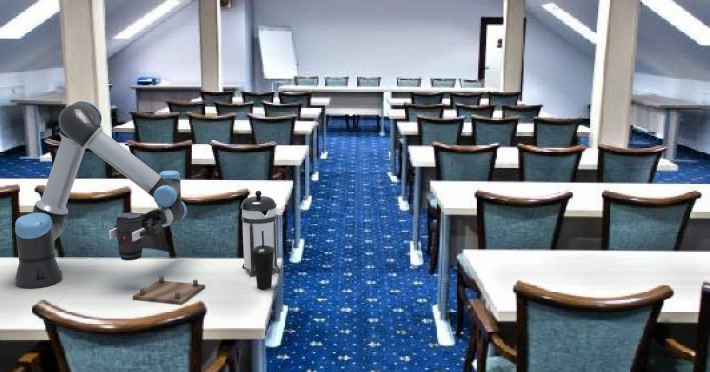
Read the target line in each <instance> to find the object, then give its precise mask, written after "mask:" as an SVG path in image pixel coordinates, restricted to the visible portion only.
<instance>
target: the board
mask: <svg viewBox="0 0 710 372" xmlns="http://www.w3.org/2000/svg"><path fill="white" fill-rule="evenodd" d="M205 289H206V284H203V283H202V284H200V283H199V282H198V279H193V280H192V282H181V281H171V280H170V281H169V280H165V278H164V276H159V277H158V280H156V281H155V282H152V283H151V284H150V285H148V286H146V287H140V288H139V291H138V292H136V293H135V294H133V295H132V300H133V301H134V300H135V301H142V302H152V303H163V304H171V305H183V304H185V303H186V302H187V301H189V300H190V299H192V298H194V297H195V296H196V295H198V294H199V293H201V292H202V291H203V290H205Z"/></svg>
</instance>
